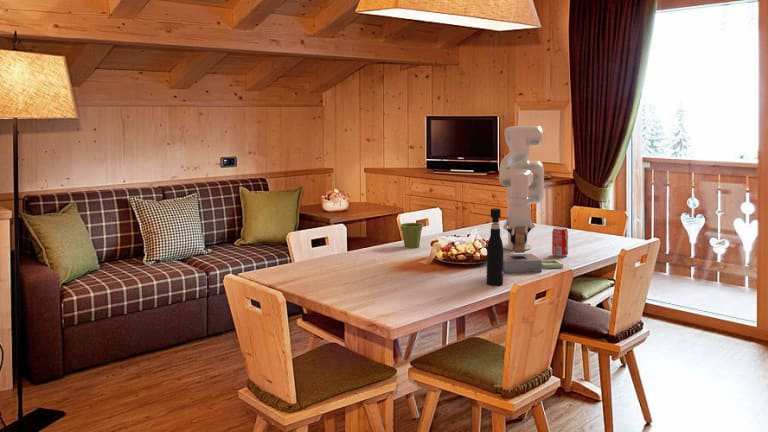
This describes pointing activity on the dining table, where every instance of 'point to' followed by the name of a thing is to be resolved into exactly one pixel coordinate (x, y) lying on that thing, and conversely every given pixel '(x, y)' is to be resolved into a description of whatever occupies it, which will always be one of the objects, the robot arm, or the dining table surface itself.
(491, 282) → the wine bottle
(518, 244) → the walnut peg
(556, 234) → the soda can
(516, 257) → the block
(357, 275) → the dining table surface
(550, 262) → the holder tray
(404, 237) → the plant pot
